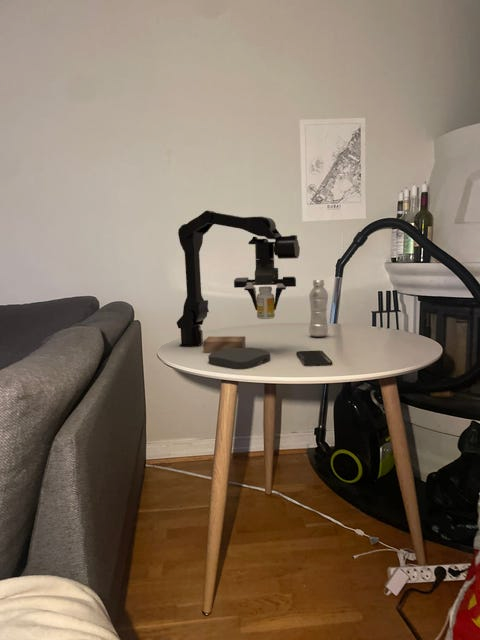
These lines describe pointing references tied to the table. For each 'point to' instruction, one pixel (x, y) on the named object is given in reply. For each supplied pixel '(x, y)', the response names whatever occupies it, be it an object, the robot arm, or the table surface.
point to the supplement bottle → (265, 303)
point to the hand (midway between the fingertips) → (265, 310)
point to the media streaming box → (239, 357)
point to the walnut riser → (223, 343)
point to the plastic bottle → (318, 309)
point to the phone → (313, 358)
